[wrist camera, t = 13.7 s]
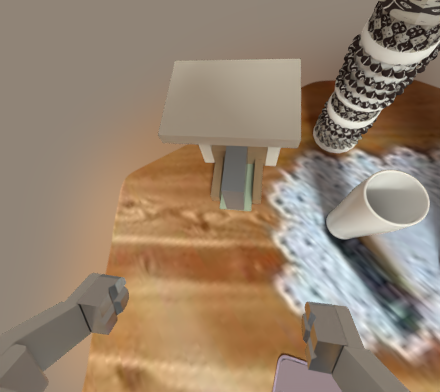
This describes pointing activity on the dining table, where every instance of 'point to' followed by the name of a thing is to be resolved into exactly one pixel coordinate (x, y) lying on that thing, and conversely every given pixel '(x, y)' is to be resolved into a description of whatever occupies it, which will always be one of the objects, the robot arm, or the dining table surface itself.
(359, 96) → the decorative candle
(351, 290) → the dining table surface
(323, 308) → the robot arm
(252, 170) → the shelf
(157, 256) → the dining table surface
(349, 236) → the drinking glass
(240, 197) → the slate tile
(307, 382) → the mobile phone
